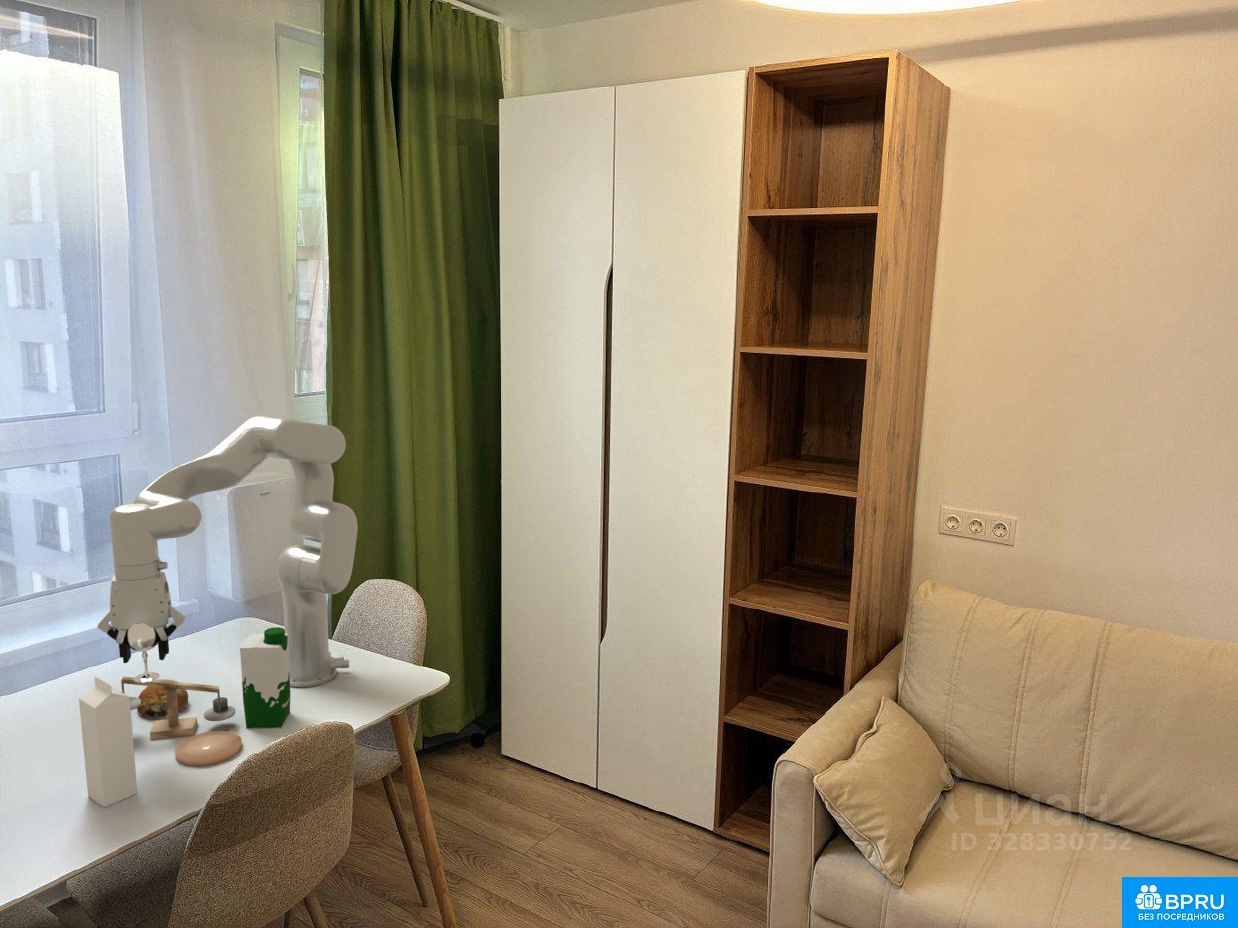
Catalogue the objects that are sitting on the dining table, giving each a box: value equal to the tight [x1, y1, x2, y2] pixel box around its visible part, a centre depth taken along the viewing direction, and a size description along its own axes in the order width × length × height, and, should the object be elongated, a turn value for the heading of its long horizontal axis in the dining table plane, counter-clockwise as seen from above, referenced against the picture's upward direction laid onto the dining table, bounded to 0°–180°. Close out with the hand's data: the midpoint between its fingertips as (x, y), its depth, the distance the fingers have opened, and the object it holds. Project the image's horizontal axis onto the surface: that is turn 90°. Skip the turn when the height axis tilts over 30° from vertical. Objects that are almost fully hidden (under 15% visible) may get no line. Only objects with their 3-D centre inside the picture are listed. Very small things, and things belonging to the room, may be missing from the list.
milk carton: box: [239, 626, 291, 729], centre depth 195 cm, size 9×9×20 cm
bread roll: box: [136, 678, 189, 719], centre depth 201 cm, size 10×10×8 cm
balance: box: [120, 676, 236, 740], centre depth 190 cm, size 24×6×12 cm, turn 105°
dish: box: [174, 730, 243, 768], centre depth 184 cm, size 12×12×1 cm
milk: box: [78, 676, 138, 808], centre depth 166 cm, size 6×6×22 cm
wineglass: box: [126, 623, 161, 683], centre depth 180 cm, size 6×6×12 cm
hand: (145, 657), depth 180 cm, fingers closed on wineglass, 5 cm apart
